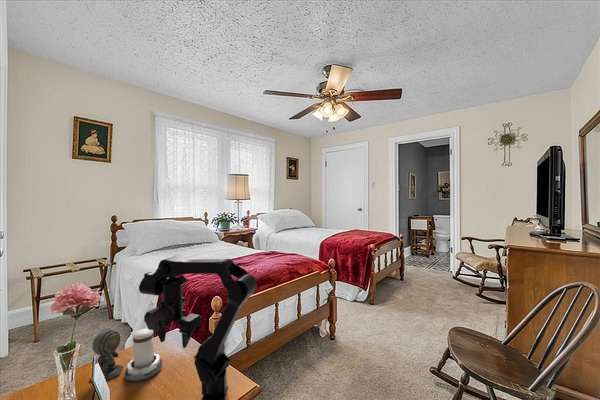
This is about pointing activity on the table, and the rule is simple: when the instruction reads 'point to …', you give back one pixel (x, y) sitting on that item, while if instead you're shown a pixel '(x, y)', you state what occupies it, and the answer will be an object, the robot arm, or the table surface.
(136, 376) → the mount
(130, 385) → the table surface
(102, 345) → the figurine
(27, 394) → the table surface
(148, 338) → the white domed cylinder
